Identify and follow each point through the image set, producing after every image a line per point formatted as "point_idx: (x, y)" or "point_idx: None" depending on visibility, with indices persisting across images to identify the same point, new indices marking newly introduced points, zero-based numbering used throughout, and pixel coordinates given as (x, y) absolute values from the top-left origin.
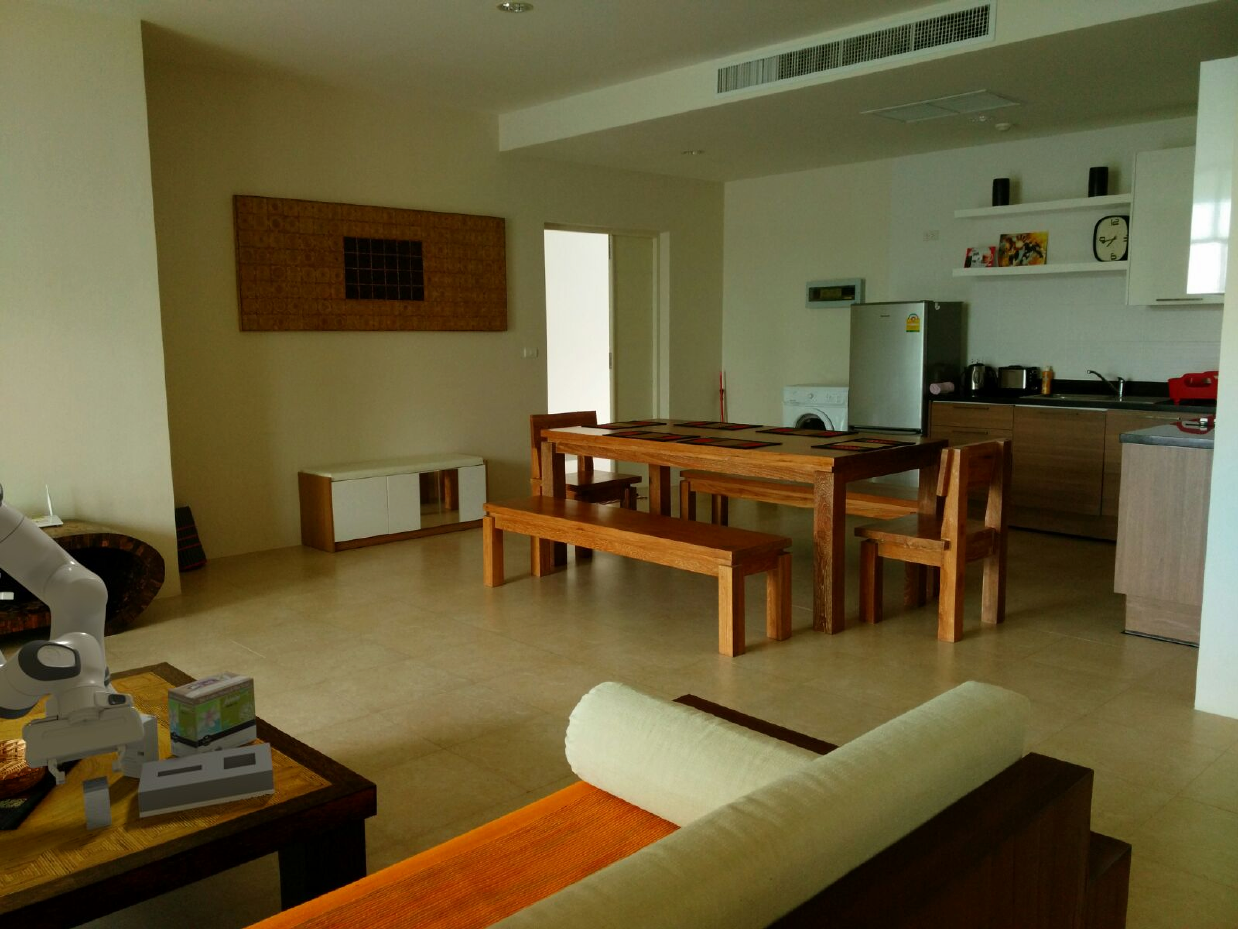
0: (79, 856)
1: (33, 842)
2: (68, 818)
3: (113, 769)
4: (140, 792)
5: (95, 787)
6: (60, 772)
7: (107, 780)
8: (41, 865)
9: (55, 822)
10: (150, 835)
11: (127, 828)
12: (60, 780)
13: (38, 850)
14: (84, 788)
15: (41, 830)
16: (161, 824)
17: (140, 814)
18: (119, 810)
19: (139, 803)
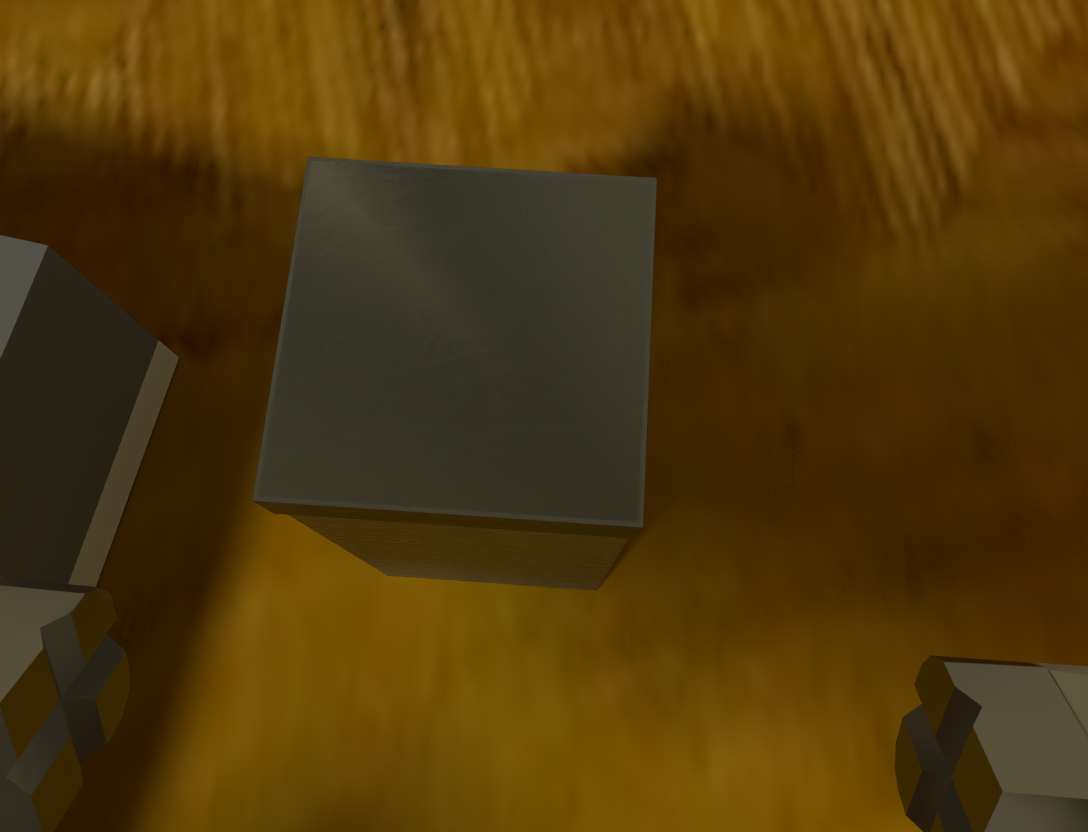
0: (698, 2)
1: (1036, 443)
2: (744, 785)
3: (89, 592)
4: (19, 243)
5: (486, 173)
6: (1082, 785)
7: (286, 292)
8: (950, 24)
9: (864, 769)
10: (201, 18)
11: None
12: (1013, 663)
13: (985, 269)
14: (635, 204)
15: None
16: (76, 140)
17: (159, 343)
18: (289, 649)
19: (106, 298)
